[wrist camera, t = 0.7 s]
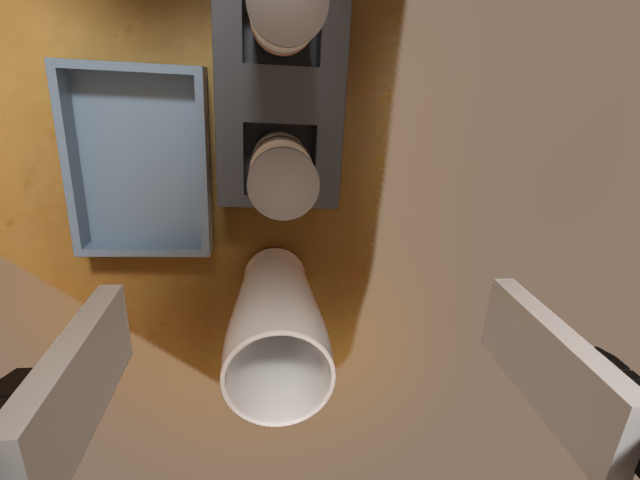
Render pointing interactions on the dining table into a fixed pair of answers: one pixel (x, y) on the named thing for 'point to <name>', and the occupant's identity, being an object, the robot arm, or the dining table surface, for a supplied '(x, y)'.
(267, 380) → the drinking glass
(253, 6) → the fuse
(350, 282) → the dining table surface
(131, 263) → the dining table surface
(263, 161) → the cylinder
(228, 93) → the fuse block
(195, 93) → the parts tray
